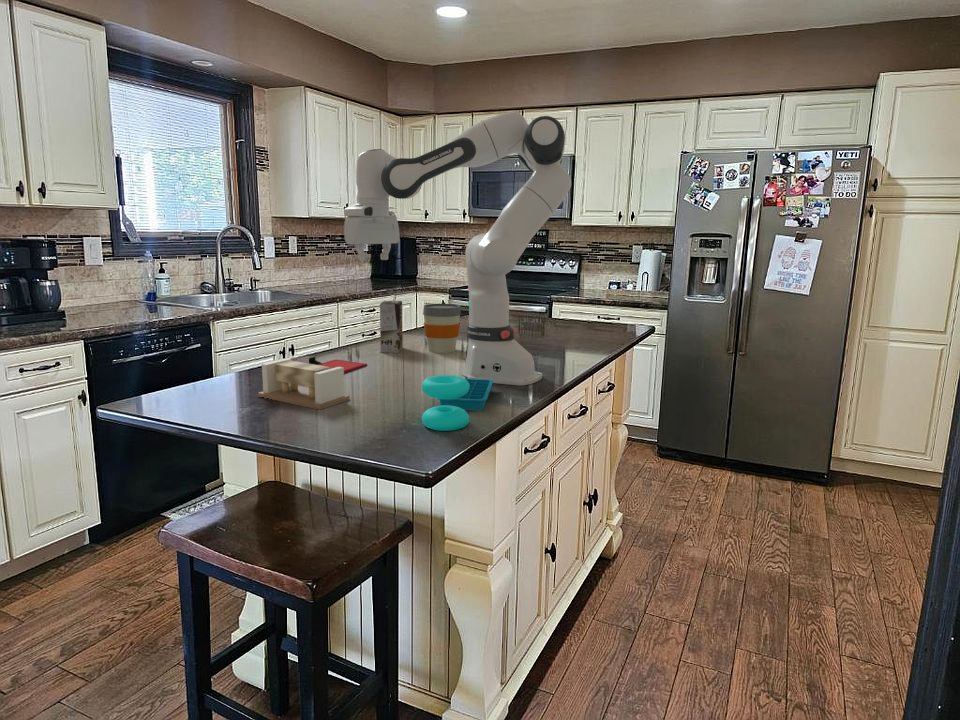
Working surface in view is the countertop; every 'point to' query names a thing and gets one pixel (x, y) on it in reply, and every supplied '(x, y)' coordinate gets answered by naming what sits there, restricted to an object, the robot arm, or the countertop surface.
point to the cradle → (305, 388)
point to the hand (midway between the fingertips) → (373, 260)
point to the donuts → (445, 414)
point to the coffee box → (391, 326)
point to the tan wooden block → (298, 372)
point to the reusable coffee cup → (441, 326)
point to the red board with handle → (339, 364)
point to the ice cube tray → (472, 395)
